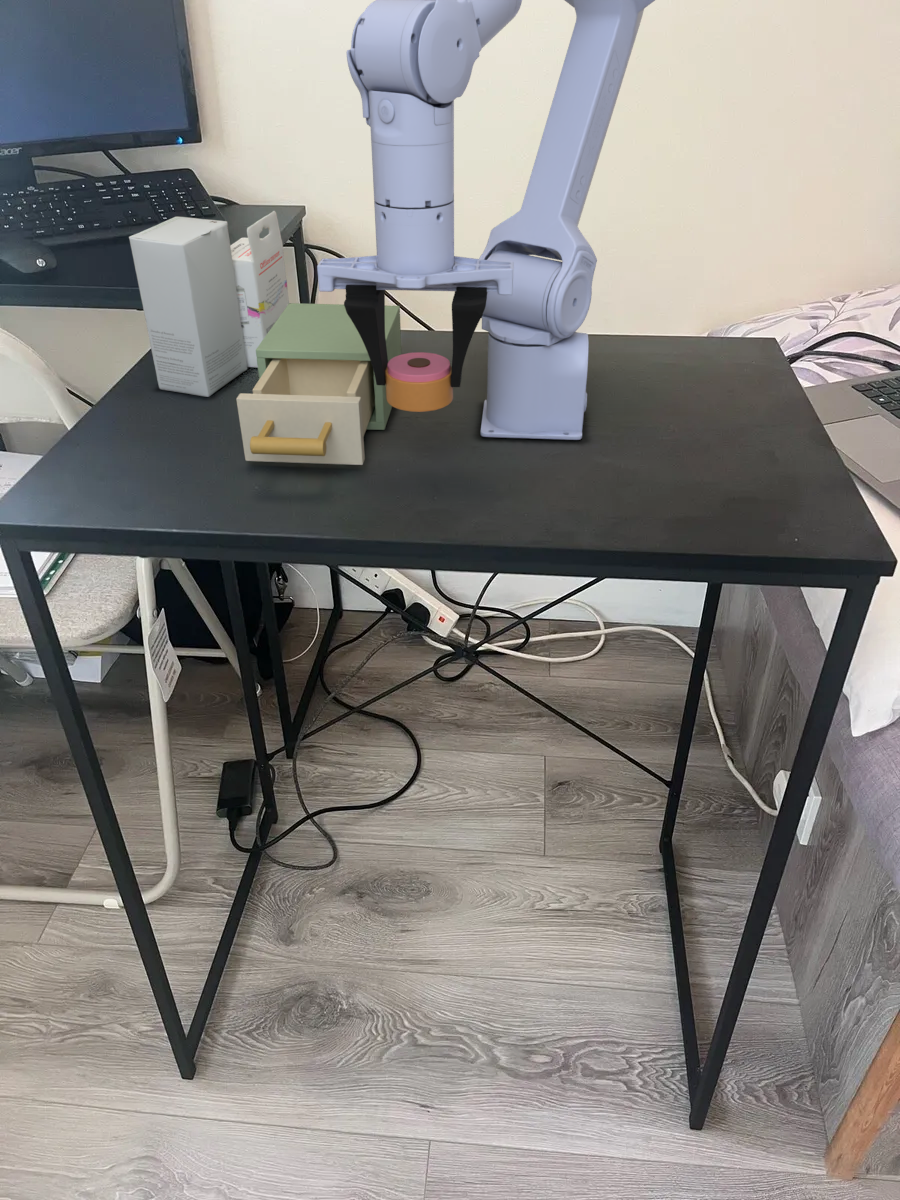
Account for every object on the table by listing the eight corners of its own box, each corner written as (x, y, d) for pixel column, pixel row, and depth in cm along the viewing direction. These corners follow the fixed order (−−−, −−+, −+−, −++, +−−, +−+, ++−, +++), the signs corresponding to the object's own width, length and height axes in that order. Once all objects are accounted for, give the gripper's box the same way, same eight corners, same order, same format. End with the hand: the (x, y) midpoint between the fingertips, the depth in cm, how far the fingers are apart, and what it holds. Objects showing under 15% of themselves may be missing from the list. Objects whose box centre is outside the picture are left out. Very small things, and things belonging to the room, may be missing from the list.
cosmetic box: (201, 362, 101) (175, 214, 92) (252, 370, 99) (232, 219, 90) (155, 390, 94) (123, 234, 85) (210, 399, 92) (183, 240, 83)
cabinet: (384, 430, 86) (380, 353, 82) (265, 426, 87) (255, 349, 83) (402, 376, 97) (399, 305, 93) (296, 373, 98) (288, 302, 94)
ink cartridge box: (254, 340, 107) (237, 207, 98) (294, 342, 106) (280, 209, 97) (225, 366, 100) (204, 226, 91) (268, 370, 99) (250, 228, 90)
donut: (455, 386, 75) (455, 350, 74) (450, 413, 71) (450, 375, 69) (390, 384, 76) (389, 349, 74) (382, 411, 71) (380, 374, 69)
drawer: (353, 492, 75) (348, 427, 71) (229, 487, 75) (219, 423, 72) (383, 406, 89) (380, 349, 85) (278, 403, 89) (271, 346, 86)
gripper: (302, 211, 62) (319, 399, 70) (515, 214, 61) (508, 404, 69) (321, 189, 67) (335, 365, 75) (516, 192, 67) (510, 369, 74)
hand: (418, 381), depth 72 cm, fingers closed on donut, 5 cm apart
